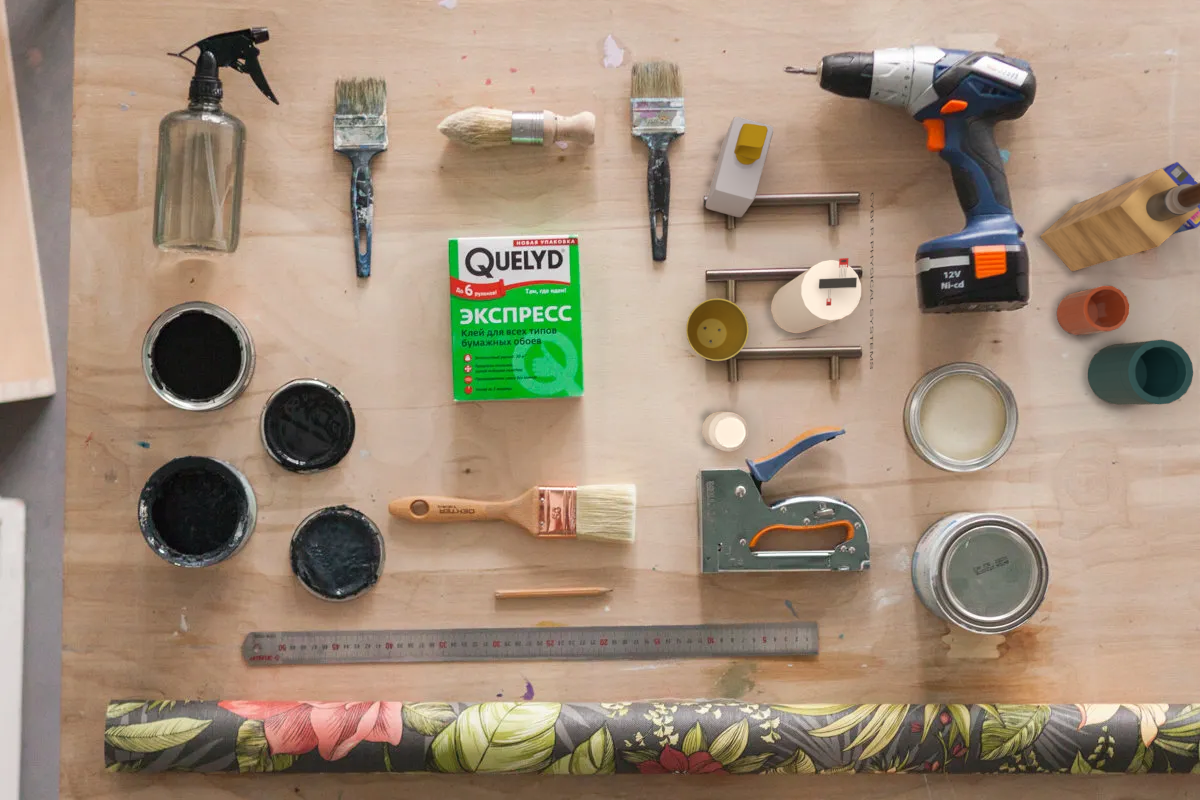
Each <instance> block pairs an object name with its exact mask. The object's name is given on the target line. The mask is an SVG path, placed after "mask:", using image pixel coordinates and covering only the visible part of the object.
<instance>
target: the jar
mask: <svg viewBox="0 0 1200 800" xmlns="http://www.w3.org/2000/svg"><path fill="white" fill-rule="evenodd" d="M1193 376H1194V367H1193V362H1192V359H1191V357H1190V355H1189V353H1187V351H1186V350H1185V349H1184V348H1183V347H1182V346H1181V345H1179V344H1177V343H1176V342H1174V341H1171V340H1166V339H1155V340H1154V339H1153V340H1144V341H1137V342H1128V343H1120V344H1119V343H1118V344H1112V345H1108V346H1106V347H1103V348H1101V349H1100V350H1099V351H1097V353H1095V355H1094V356H1093V357H1092V359H1091V360H1090V362H1089V365H1088V369H1087V380H1088V383H1089V387H1090V388H1091V391H1092V392H1093V393H1094V395H1095V396H1097V397H1098V399H1101V400H1102V401H1104V402H1106V403H1109V404H1112V405H1168V404H1171V403H1173V402H1176V401H1179V399H1181V398H1182V397H1183V396H1184V395H1185V394H1186V393H1187V392H1188V390H1189V388H1190V387H1191V385H1192V382H1193Z"/></svg>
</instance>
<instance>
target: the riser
mask: <svg viewBox="0 0 1200 800" xmlns="http://www.w3.org/2000/svg"><path fill="white" fill-rule="evenodd" d="M1162 168H1163V167H1161V168H1159V169H1156V170H1154V171H1151V172H1149V173H1147V174H1143V175H1142V176H1140V177H1137V178H1135V179H1132V180H1130V181H1127V182H1125V183H1123V184H1121V185H1119V186H1116V187H1113V188H1111V189H1109V190H1107V191H1104V192H1102V193H1100V194H1097V195H1095V196H1092V197H1090V198H1088V199H1086V200H1085V199H1084V200H1083V201H1080V202H1078V203H1076V204H1074V205H1073V206H1072V207H1071V208H1070V209H1069V210H1067V211H1066V212H1065V213H1064V214H1063V215H1062V216H1061V217H1060V218H1059V219H1058V220H1056V221H1055V222H1054V223H1053V224H1052V225H1051V226H1050V227H1049V228H1048V229H1047V230H1045V231H1044V232H1043V233H1042V234H1041V235H1039V238H1041V240H1043V242H1044V243H1045V244H1046V245H1047V246H1048V247H1049V248H1050V250H1052V251H1053V253H1054V254H1055V255H1056V256H1057V257H1058V258H1059V259H1060V260H1061V261H1062V263H1063V264H1064V265H1065V266H1066V267H1067V268H1068V269H1069V270H1070V271H1071V272H1075V271H1078V270H1082V269H1085V268H1088V267H1092V266H1093V267H1094V266H1096V265H1099V264H1103V263H1106V262H1111V261H1114V260H1117V259H1120V258H1124V257H1128V256H1132V255H1134V254H1139V253H1141V252H1146V251H1149V250H1152V249H1155V248H1159V247H1160V246H1161V245H1163V243H1164V242H1165V241H1166V240H1168V238H1170V237H1171V236H1173V235H1174V234H1173V233H1174V232H1175V231H1176V230H1177V229H1178V228H1180V227H1181V226H1182V225H1183V224H1184V223H1185V222H1186V221H1187V220H1188V219H1190V218H1191V217H1192V216H1193V215H1194V214H1195V213H1196V212H1197V211H1198V210H1199V208H1198V207H1197V208H1196V209H1194V210H1193V211H1190V212H1187V213H1186V214H1183V215H1180V216H1177V217H1174V218H1171V219H1168V220H1165V221H1156V220H1153V219H1152V218H1151V217H1150V216H1149V215H1148V213H1147V210H1146V204H1147V201H1148V200H1149V198H1150V197H1151V196H1153V195H1155V194H1157V193H1160V192H1162V191H1165V190H1167V189H1170V188H1173V187H1176V186H1178V185H1177V184H1176V183H1175V182H1174V181H1173V180H1172V179H1171V178H1170V176H1169V175H1168V174H1167V173H1166V172H1165V171H1164V170H1163V169H1162Z"/></svg>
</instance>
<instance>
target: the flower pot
mask: <svg viewBox="0 0 1200 800" xmlns="http://www.w3.org/2000/svg"><path fill="white" fill-rule="evenodd" d="M749 327H750V325H749V321H748V318H747V316H746V314H745V312H744V311H743V310H742V308H741V307H740V306H739V305H737V304H736V303H735V302H733V301H731V300H729V299H726V298H721V297H720V298H719V297H718V298H717V297H715V298H710V299H706V300H704V301H702V302H700V303H699V304H697V305H696V306H695V307H694V308H693V309H692V311H690V314H689V316H688V318H687V321H686V326H685V334H686V339H687V341H688V344H689V345H690V347H691V348H692V350H693V351H694V352H695V354H697V355H698V356H699V357H701V358H703V359H706V360H708V361H713V362H721V361H728V360H729V359H732V358H734V357H735V356H737V355H738V354H739V353H740V352H741V351H742V350H743V348H744V347H745V346H746V343H747V342H748V338H749V335H750V334H749V333H750V331H749V329H750V328H749ZM710 341H711V342H710Z"/></svg>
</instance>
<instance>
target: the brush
mask: <svg viewBox="0 0 1200 800" xmlns="http://www.w3.org/2000/svg"><path fill="white" fill-rule="evenodd" d="M1197 183H1198V184H1195V185H1190V184H1183V185H1180V186H1176V187H1173V188H1170V189H1167V190H1165V191H1162V192H1160V193H1157V194H1155V195H1153V196H1151V197H1150V198H1149V200H1148V201H1147V204H1146V210H1147V213H1148V215H1149V216H1150V217H1151V218H1152V219H1153V220H1156V221H1165V220H1168V219H1171V218H1174V217H1177V216H1180V215H1183V214H1186V213H1187V212H1190V211H1193V210H1194V209H1196V208H1197V207H1198V205H1199V204H1200V182H1197Z"/></svg>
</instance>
